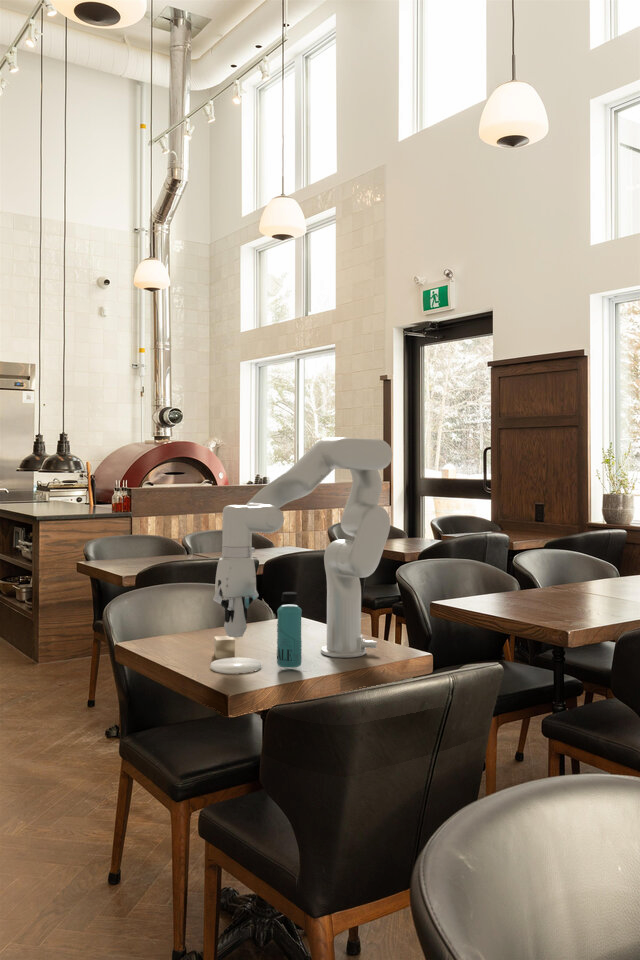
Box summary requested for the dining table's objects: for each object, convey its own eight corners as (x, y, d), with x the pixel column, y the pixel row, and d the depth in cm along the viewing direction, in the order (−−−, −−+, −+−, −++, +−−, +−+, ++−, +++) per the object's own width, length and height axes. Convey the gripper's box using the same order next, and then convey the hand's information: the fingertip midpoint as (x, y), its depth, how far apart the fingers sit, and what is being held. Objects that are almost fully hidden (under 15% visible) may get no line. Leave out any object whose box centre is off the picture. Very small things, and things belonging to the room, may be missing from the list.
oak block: (232, 653, 224) (232, 635, 224) (234, 657, 219) (234, 639, 219) (214, 654, 223) (214, 636, 223) (216, 658, 218) (216, 640, 218)
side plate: (265, 662, 214) (265, 658, 214) (255, 674, 201) (256, 670, 201) (217, 660, 216) (217, 656, 216) (205, 672, 203) (205, 668, 203)
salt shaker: (242, 638, 205) (243, 587, 205) (221, 637, 206) (221, 586, 206) (249, 634, 210) (250, 584, 210) (228, 632, 212) (229, 583, 211)
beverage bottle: (301, 667, 209) (302, 590, 209) (302, 673, 203) (302, 594, 202) (276, 667, 209) (277, 590, 209) (276, 673, 202) (276, 594, 202)
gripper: (255, 550, 216) (254, 618, 216) (201, 553, 206) (200, 625, 206) (271, 552, 210) (270, 623, 210) (216, 556, 200) (215, 630, 200)
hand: (235, 623), depth 208 cm, fingers closed on salt shaker, 3 cm apart
